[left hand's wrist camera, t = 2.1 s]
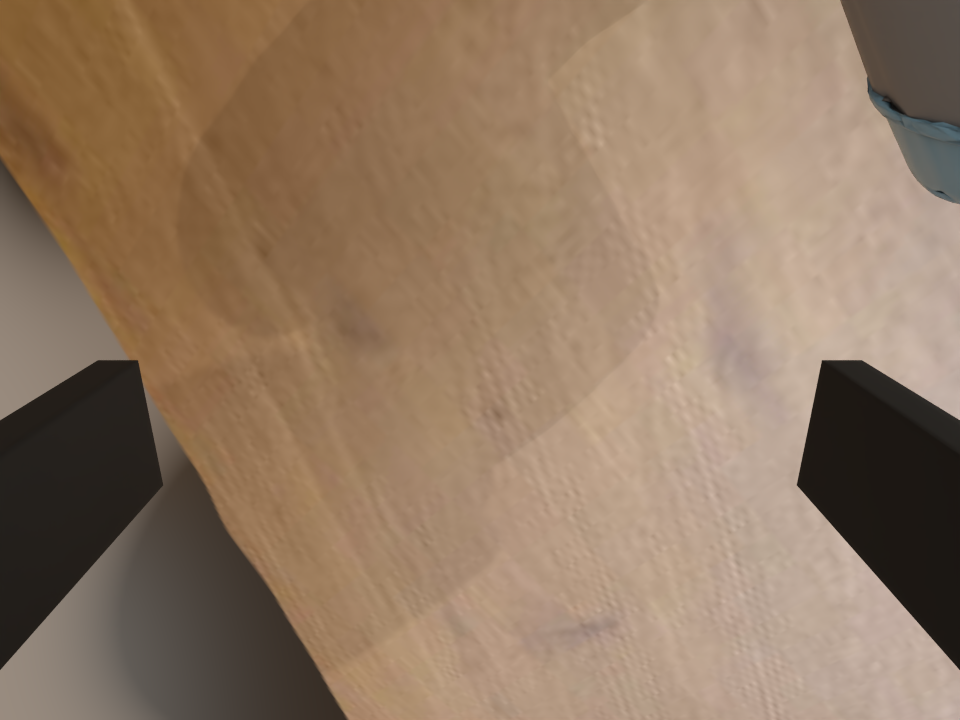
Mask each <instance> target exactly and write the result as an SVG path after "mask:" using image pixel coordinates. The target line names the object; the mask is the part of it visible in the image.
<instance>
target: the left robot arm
mask: <svg viewBox="0 0 960 720" xmlns="http://www.w3.org/2000/svg"><path fill="white" fill-rule="evenodd" d="M841 3H842V6H843V9H844V12H845V14H846V17H847V20H848V23H849V25H850V28H851V31H852V34H853V37H854V39H855V42H856V45H857V48H858V51H859V53H860V56H861V59H862V62H863V64H864V67H865V70H866V73H867V76H868V77H867V83H868V94H869V97H870V100H871V101H872V103H873V105H874V106H875V108H876V109H877V110H878V111H879V112H880V113H881V114H882V115H883V116H884V117H886V118H887V120H888V122H889V125H890V127H891V129H892V131H893V134H894V136H895V138H896V140H897V143H898V145H899V147H900V149H901V152H902V154H903V156H904V158H905V161H906V163H907V165H908V167H909V169H910V171H911V172H912V174H913V175H914V177H915V178H916V179H917V181H918V182H919V183H920V184H921V185H922V186H923V187H924V188H926V189H927V190H928V191H929V192H931V193H932V194H934V195H935V196H937V197H940V198H942V199H944V200H947V201H950V202H952V203H957V204H960V0H841ZM162 486H163V482H162V477H161V472H160V467H159V462H158V458H157V453H156V448H155V443H154V438H153V433H152V428H151V423H150V418H149V413H148V408H147V403H146V398H145V393H144V388H143V383H142V378H141V373H140V368H139V363H138V360H98V361H96V362H95V363H93V364H91V365H90V366H88V367H86V368H85V369H83V370H82V371H80V372H78V373H77V374H75V375H74V376H72V377H70V378H69V379H67V380H65V381H64V382H62V383H60V384H59V385H57V386H56V387H54V388H52V389H51V390H49V391H47V392H46V393H44V394H43V395H41V396H39V397H38V398H36V399H34V400H33V401H31V402H29V403H28V404H26V405H25V406H23V407H21V408H20V409H18V410H16V411H15V412H13V413H12V414H10V415H8V416H7V417H5V418H3V419H2V420H0V670H1V668H2V667H3V666H4V665H5V664H6V663H7V662H8V660H9V659H10V658H11V657H12V656H13V655H14V654H15V653H16V651H17V650H18V649H19V648H20V647H21V646H22V645H23V643H24V642H25V641H26V640H27V639H28V638H29V637H30V635H31V634H32V633H33V632H34V631H35V630H36V629H37V628H38V626H39V625H40V624H41V623H42V622H43V621H44V620H45V619H46V617H47V616H48V615H49V614H50V613H51V612H52V611H53V609H54V608H55V607H56V606H57V605H58V604H59V603H60V602H61V600H62V599H63V598H64V597H65V596H66V595H67V594H68V592H69V591H70V590H71V589H72V588H73V587H74V586H75V584H76V583H77V582H78V581H79V580H80V579H81V578H82V577H83V575H84V574H85V573H86V572H87V571H88V570H89V569H90V567H91V566H92V565H93V564H94V563H95V562H96V561H97V560H98V558H99V557H100V556H101V555H102V554H103V553H104V552H105V550H106V549H107V548H108V547H109V546H110V545H111V544H112V543H113V541H114V540H115V539H116V538H117V537H118V536H119V535H120V533H121V532H122V531H123V530H124V529H125V528H126V527H127V526H128V524H129V523H130V522H131V521H132V520H133V519H134V518H135V516H136V515H137V514H138V513H139V512H140V511H141V510H142V509H143V507H144V506H145V505H146V504H147V503H148V502H149V501H150V499H151V498H152V497H153V496H154V495H155V494H156V493H157V492H158V490H159V489H160V488H161V487H162ZM797 486H798V487H799V488H800V489H801V490H802V492H803V493H804V494H805V495H806V496H807V497H808V498H809V499H810V501H811V502H812V503H813V504H814V505H815V506H816V507H817V509H818V510H819V511H820V512H821V513H822V514H823V515H824V516H825V518H826V519H827V520H828V521H829V522H830V523H831V524H832V526H833V527H834V528H835V529H836V530H837V531H838V532H839V533H840V535H841V536H842V537H843V538H844V539H845V540H846V541H847V543H848V544H849V545H850V546H851V547H852V548H853V549H854V550H855V552H856V553H857V554H858V555H859V556H860V557H861V558H862V560H863V561H864V562H865V563H866V564H867V565H868V566H869V567H870V569H871V570H872V571H873V572H874V573H875V574H876V575H877V577H878V578H879V579H880V580H881V581H882V582H883V583H884V585H885V586H886V587H887V588H888V589H889V590H890V591H891V592H892V594H893V595H894V596H895V597H896V598H897V599H898V600H899V602H900V603H901V604H902V605H903V606H904V607H905V608H906V609H907V611H908V612H909V613H910V614H911V615H912V616H913V617H914V619H915V620H916V621H917V622H918V623H919V624H920V625H921V626H922V628H923V629H924V630H925V631H926V632H927V633H928V634H929V636H930V637H931V638H932V639H933V640H934V641H935V642H936V643H937V645H938V646H939V647H940V648H941V649H942V650H943V651H944V653H945V654H946V655H947V656H948V657H949V658H950V659H951V660H952V662H953V663H954V664H955V665H956V666H957V667H958V668H959V670H960V420H958V419H957V418H955V417H953V416H952V415H950V414H948V413H947V412H945V411H944V410H942V409H940V408H939V407H937V406H935V405H934V404H932V403H931V402H929V401H927V400H926V399H924V398H922V397H921V396H919V395H918V394H916V393H914V392H913V391H911V390H909V389H908V388H906V387H905V386H903V385H901V384H900V383H898V382H896V381H895V380H893V379H891V378H890V377H888V376H887V375H885V374H883V373H882V372H880V371H878V370H877V369H875V368H874V367H872V366H870V365H869V364H867V363H865V362H864V361H862V360H822V363H821V368H820V373H819V378H818V383H817V388H816V393H815V398H814V403H813V408H812V413H811V418H810V423H809V428H808V433H807V438H806V443H805V448H804V452H803V457H802V462H801V467H800V472H799V477H798V482H797Z"/></svg>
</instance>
